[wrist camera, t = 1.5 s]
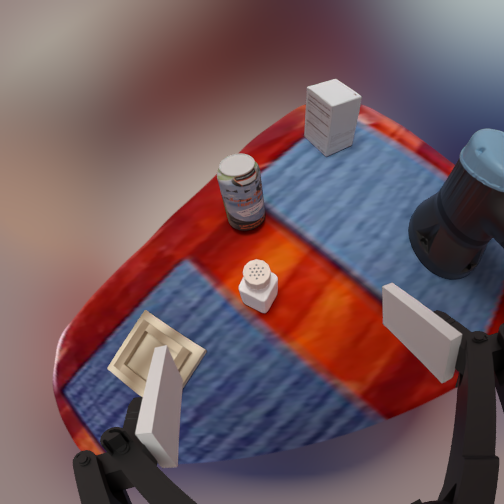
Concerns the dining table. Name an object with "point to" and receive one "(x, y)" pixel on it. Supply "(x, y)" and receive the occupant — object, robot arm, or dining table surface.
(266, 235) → the dining table surface
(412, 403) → the dining table surface
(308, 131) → the supplement box
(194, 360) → the tray
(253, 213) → the beverage can
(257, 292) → the pepper shaker
